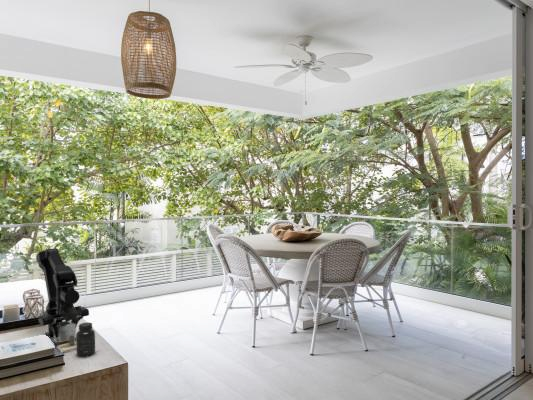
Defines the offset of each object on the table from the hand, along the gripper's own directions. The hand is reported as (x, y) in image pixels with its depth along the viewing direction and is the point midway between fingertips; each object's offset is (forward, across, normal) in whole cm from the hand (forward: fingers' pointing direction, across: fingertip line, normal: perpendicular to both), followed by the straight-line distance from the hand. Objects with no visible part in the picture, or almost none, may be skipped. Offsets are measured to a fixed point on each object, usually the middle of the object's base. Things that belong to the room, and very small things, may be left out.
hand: (64, 335), depth 179 cm
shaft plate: (+3, 0, -8) cm, 8 cm away
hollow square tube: (+1, 0, 0) cm, 1 cm away
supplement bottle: (+3, +1, -18) cm, 19 cm away
